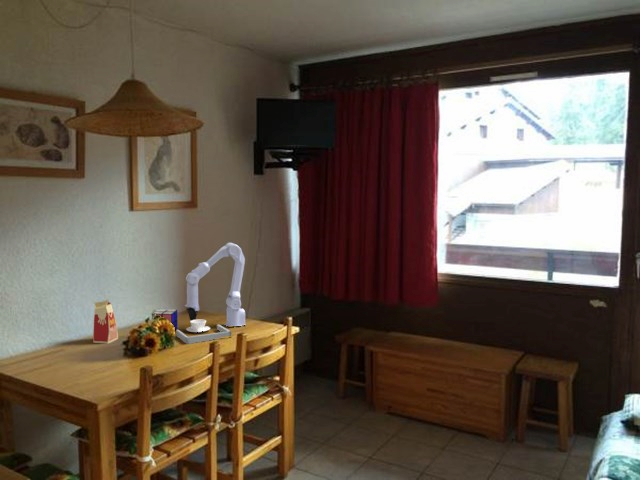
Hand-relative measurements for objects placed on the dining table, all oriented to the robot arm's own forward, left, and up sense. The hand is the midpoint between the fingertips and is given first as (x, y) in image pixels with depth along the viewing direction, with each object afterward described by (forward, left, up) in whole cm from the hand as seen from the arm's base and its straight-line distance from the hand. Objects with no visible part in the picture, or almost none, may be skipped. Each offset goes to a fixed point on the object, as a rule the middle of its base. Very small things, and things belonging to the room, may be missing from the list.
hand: (192, 321), depth 278 cm
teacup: (-1, +5, -4) cm, 7 cm away
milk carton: (+43, 0, -4) cm, 43 cm away
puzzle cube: (+13, -4, -4) cm, 14 cm away
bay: (0, +16, -4) cm, 16 cm away
